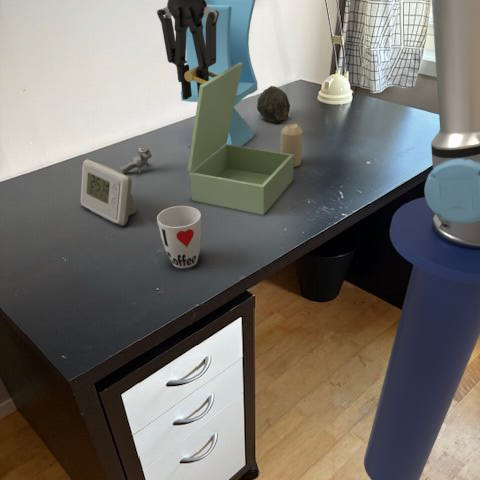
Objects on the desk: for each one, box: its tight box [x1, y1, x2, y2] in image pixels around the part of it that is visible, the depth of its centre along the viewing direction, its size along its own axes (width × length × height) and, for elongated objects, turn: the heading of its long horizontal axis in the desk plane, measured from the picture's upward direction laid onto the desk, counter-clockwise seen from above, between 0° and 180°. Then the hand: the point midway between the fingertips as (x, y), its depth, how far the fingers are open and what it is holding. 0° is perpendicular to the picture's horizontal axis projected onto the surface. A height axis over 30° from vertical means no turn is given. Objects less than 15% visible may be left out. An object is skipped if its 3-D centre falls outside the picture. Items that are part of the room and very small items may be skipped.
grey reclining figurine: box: [119, 147, 152, 175], centre depth 125 cm, size 10×6×9 cm
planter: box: [180, 0, 258, 151], centre depth 129 cm, size 16×16×35 cm
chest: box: [189, 144, 294, 216], centre depth 114 cm, size 19×19×7 cm
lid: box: [184, 62, 243, 173], centre depth 109 cm, size 19×19×8 cm
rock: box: [256, 85, 291, 123], centre depth 150 cm, size 10×11×10 cm
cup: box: [156, 205, 202, 269], centre depth 91 cm, size 8×8×10 cm
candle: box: [280, 123, 304, 168], centre depth 124 cm, size 6×6×10 cm
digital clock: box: [80, 158, 136, 227], centre depth 107 cm, size 16×9×11 cm, turn 37°
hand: (195, 98), depth 107 cm, fingers open, 3 cm apart
